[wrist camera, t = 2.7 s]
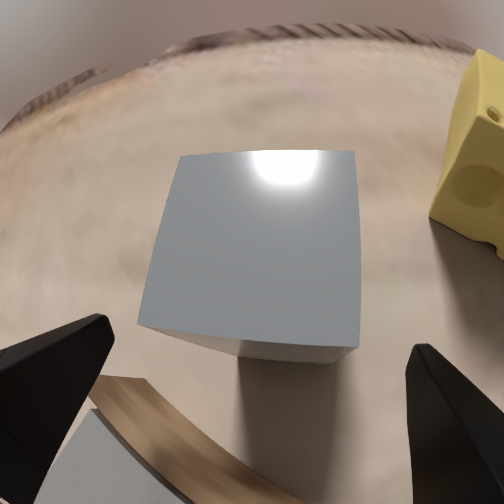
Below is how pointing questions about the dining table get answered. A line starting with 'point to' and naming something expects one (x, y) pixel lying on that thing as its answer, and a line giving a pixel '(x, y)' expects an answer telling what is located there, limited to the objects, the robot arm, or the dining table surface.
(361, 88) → the dining table surface
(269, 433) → the dining table surface
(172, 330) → the grey rectangular block
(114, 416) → the trap frame
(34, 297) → the dining table surface
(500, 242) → the cheese
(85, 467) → the trapdoor
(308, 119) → the dining table surface
